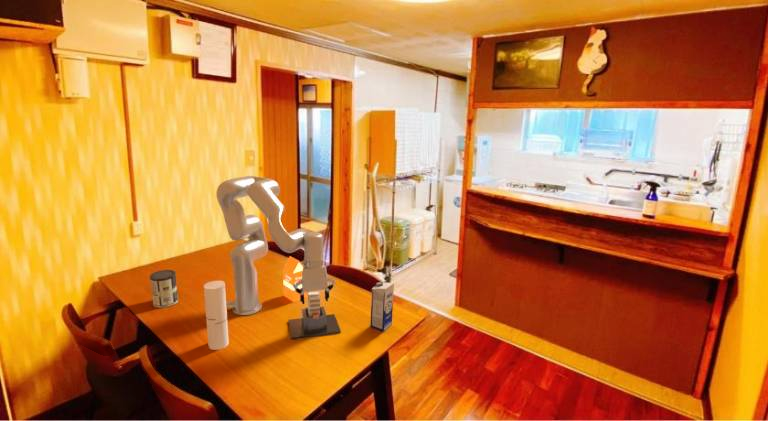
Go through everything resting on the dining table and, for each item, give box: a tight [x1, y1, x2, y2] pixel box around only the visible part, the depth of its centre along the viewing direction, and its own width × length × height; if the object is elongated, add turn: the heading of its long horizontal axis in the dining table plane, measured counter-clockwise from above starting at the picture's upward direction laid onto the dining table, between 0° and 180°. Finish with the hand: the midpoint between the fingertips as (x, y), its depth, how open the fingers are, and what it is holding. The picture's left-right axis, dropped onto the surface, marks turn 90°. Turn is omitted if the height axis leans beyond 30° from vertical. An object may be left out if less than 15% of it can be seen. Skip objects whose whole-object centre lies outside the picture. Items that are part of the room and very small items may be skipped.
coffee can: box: [149, 269, 179, 309], centre depth 173 cm, size 10×10×14 cm
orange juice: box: [282, 255, 308, 303], centre depth 184 cm, size 8×9×20 cm
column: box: [307, 291, 321, 317], centre depth 158 cm, size 4×5×14 cm
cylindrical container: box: [203, 280, 230, 351], centre depth 143 cm, size 7×7×25 cm
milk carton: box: [369, 281, 395, 333], centre depth 161 cm, size 7×7×20 cm
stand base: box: [288, 306, 342, 341], centre depth 159 cm, size 20×14×9 cm
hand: (314, 301), depth 157 cm, fingers open, 9 cm apart
